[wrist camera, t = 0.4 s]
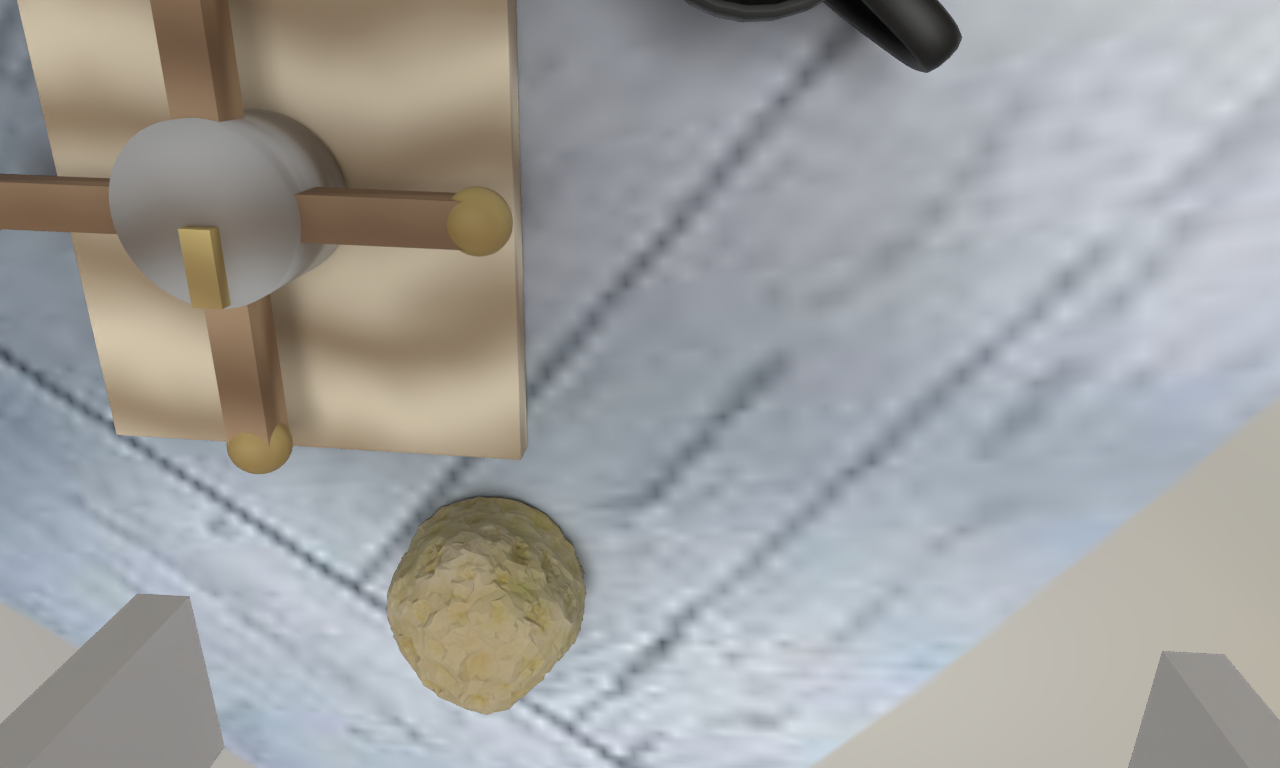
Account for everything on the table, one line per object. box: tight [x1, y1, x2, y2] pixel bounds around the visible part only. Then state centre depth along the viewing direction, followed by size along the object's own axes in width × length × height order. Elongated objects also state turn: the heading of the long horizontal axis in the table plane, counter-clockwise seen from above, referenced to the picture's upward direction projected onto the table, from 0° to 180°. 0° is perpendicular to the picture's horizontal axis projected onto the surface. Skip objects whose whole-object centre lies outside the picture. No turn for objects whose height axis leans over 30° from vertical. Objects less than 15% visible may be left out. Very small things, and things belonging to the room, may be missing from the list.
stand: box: [17, 0, 527, 460], centre depth 35 cm, size 28×20×3 cm
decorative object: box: [386, 497, 586, 715], centre depth 41 cm, size 9×10×10 cm
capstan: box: [0, 0, 513, 474], centre depth 33 cm, size 23×23×6 cm
